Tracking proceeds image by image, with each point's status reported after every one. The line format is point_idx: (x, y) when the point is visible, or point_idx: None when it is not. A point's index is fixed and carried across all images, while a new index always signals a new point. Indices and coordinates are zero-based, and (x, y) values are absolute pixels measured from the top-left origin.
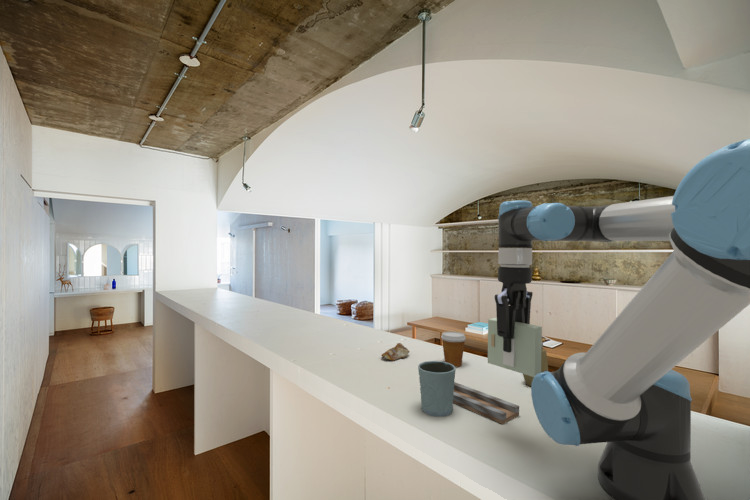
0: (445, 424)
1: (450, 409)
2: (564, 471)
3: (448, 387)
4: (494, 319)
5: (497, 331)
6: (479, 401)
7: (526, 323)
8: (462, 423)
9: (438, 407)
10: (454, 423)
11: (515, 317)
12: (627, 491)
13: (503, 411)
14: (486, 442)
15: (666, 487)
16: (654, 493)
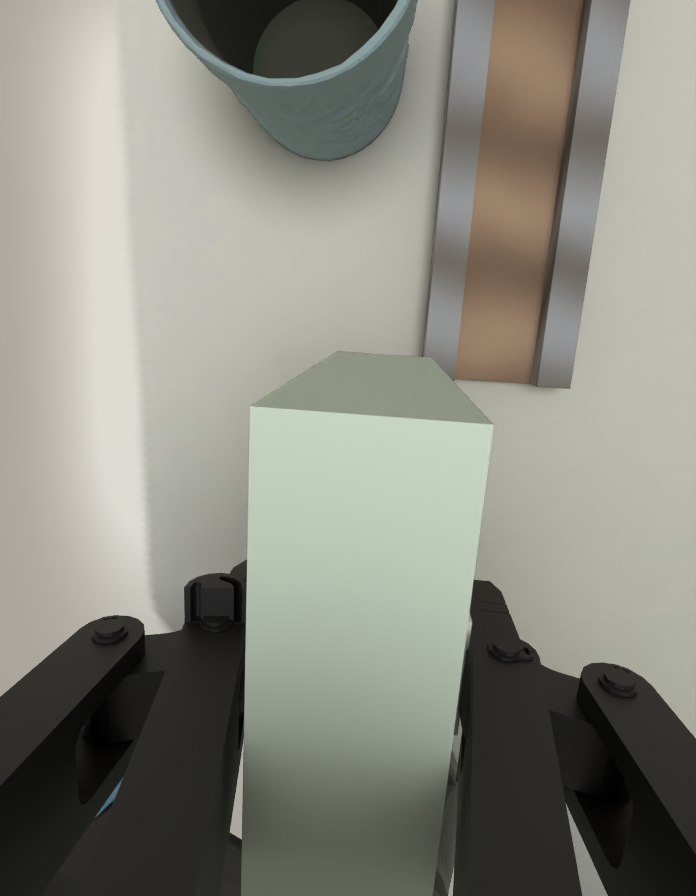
0: (238, 208)
1: (328, 155)
2: None
3: (284, 116)
4: (331, 494)
5: (61, 648)
6: (532, 193)
7: (599, 862)
8: (302, 253)
9: (259, 121)
10: (275, 229)
11: (463, 862)
12: None
13: (455, 366)
14: (249, 399)
15: None
16: None
